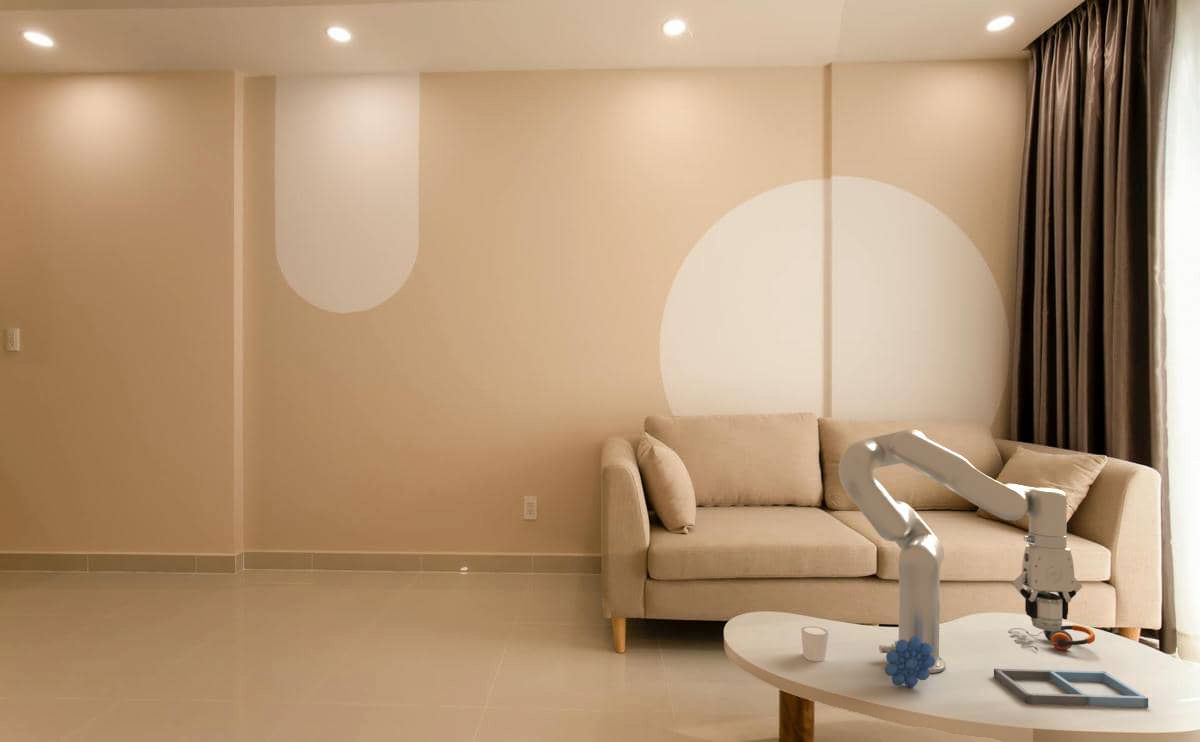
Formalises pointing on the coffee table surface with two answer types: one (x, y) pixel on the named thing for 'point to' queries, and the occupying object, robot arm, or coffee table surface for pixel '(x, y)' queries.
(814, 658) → the shot glass
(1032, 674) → the organizer
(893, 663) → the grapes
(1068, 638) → the headphones
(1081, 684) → the coffee table surface
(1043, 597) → the camera lens
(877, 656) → the coffee table surface
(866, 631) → the coffee table surface
